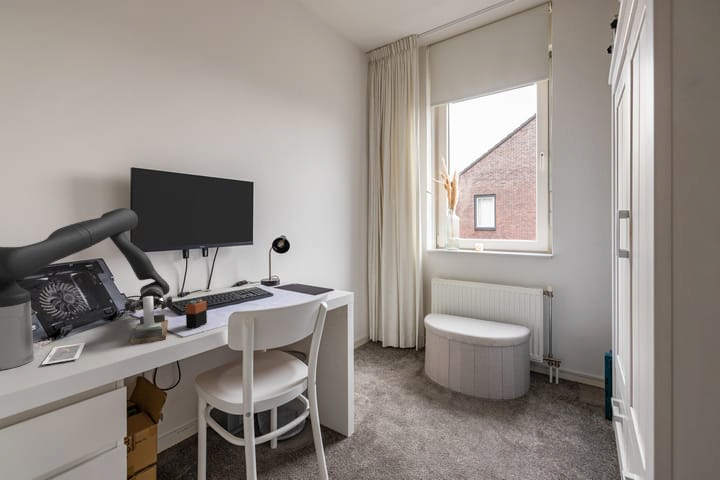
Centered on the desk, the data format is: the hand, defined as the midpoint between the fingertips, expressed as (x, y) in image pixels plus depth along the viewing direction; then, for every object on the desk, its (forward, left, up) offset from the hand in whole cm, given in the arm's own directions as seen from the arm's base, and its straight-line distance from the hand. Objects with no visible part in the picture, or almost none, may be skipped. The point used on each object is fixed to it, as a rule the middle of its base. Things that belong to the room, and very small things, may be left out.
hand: (147, 308), depth 114 cm
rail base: (0, +8, -11) cm, 14 cm away
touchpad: (-21, -3, -12) cm, 24 cm away
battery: (+15, +10, -11) cm, 21 cm away
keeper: (0, +2, -9) cm, 9 cm away
